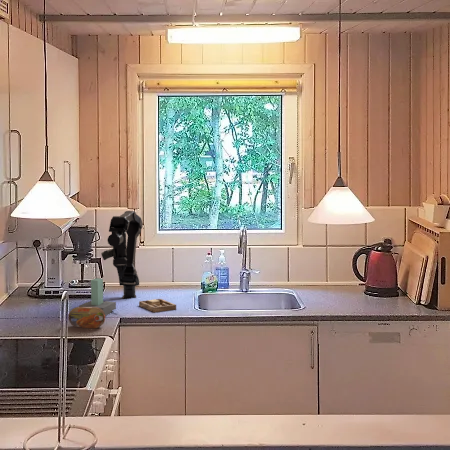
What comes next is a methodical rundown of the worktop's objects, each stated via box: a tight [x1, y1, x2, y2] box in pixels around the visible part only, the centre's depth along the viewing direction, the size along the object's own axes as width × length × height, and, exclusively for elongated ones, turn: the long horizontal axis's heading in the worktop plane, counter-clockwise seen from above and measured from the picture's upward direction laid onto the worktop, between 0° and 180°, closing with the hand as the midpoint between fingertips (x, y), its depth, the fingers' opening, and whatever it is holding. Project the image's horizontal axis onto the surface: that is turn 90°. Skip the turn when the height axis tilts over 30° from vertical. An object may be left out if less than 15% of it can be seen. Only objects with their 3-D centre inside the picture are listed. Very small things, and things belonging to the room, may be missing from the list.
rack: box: [138, 298, 177, 313], centre depth 330 cm, size 15×11×3 cm
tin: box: [68, 306, 106, 329], centre depth 299 cm, size 15×3×8 cm, turn 80°
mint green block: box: [90, 277, 104, 305], centre depth 322 cm, size 5×3×11 cm, turn 163°
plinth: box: [78, 300, 117, 317], centre depth 323 cm, size 12×12×4 cm
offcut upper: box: [148, 299, 160, 305], centre depth 333 cm, size 4×4×1 cm
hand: (120, 277), depth 338 cm, fingers open, 9 cm apart
